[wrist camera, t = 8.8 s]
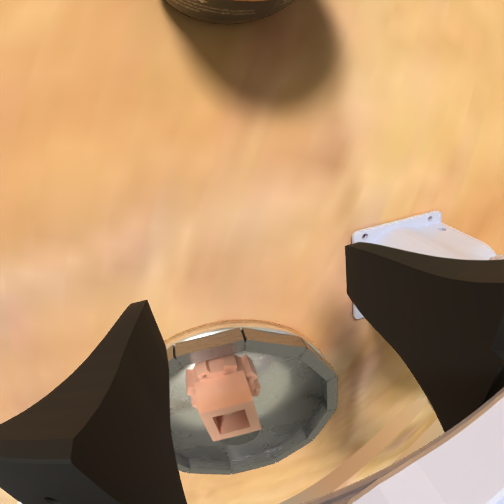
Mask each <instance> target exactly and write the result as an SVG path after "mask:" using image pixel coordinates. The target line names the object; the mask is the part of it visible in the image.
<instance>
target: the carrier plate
mask: <svg viewBox="0 0 504 504" xmlns="http://www.w3.org/2000/svg"><path fill="white" fill-rule="evenodd" d="M164 343H165V345H166V350H167V357H168V364H169V384H170V424H171V434H172V440H173V446H174V451H175V457H176V461H177V466H178V470H180V471H183V472H187V473H197V474H231V473H232V474H236V473H240V472H244V471H248V470H252V469H256V468H260V467H264V466H267V465H271V464H274V463H275V462H279V461H280V460H282V459H284V458H285V457H287V456H289V455H290V454H292V453H294V452H295V451H297V450H299V449H300V448H302V447H303V446H305V445H306V444H308V443H310V442H311V441H313V440H312V439H315V437H316V436H317V435H318V433H319V432H320V431H321V430H322V428H323V427H324V426H325V424H326V423H327V422H328V420H329V419H330V417H331V416H332V415H333V413H334V412H335V411H336V408H337V381H338V376H337V374H336V372H335V371H334V369H333V368H332V366H331V365H330V364H329V363H328V362H327V361H326V360H325V358H324V356H323V355H322V353H321V352H320V350H319V349H318V348H317V347H316V345H315V344H314V343H313V342H312V341H311V340H309V339H308V338H307V337H306V336H304V335H303V334H301V333H299V332H297V331H296V330H294V329H291V328H289V327H286V326H283V325H280V324H276V323H271V322H266V321H258V320H231V321H221V322H216V323H211V324H205V325H202V326H199V327H195V328H192V329H189V330H186V331H184V332H182V333H179V334H177V335H175V336H173V337H171V338H169V339H167V340H166V341H164ZM230 354H234V355H237V356H239V357H242V356H244V355H245V354H246V355H247V356H248V357H249V358H250V359H251V360H252V362H253V364H254V367H255V370H256V373H257V375H258V378H257V379H258V382H259V385H260V387H261V390H260V393H259V396H253V397H252V398H253V401H254V404H255V408H256V412H257V415H258V419H259V422H260V426H261V430H257V431H254V432H250V433H246V434H243V435H239V436H235V437H231V438H226V439H222V440H218V441H213V440H212V438H211V436H210V435H209V433H208V431H207V429H206V427H205V425H204V423H203V421H202V419H201V417H200V415H199V411H198V410H197V409H196V408H194V407H193V406H192V402H191V396H188V395H187V391H186V381H185V374H186V369H191V370H192V369H193V367H194V366H195V363H198V362H202V361H207V360H211V359H215V358H219V357H223V356H227V355H230ZM233 413H234V412H232V413H228V414H225V415H230V414H233Z"/></svg>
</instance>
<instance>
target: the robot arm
mask: <svg viewBox="0 0 504 504" xmlns="http://www.w3.org/2000/svg"><path fill="white" fill-rule="evenodd" d="M428 218H429V220H428ZM363 234H365V237H364V238H362V236H363ZM345 255H346V279H347V294H348V296H349V297H350V299H351V300H352V302H353V316H354V317H355V319H361V318H363V317H365V318H366V320H367V321H368V322H369V323H370V324H371V325H372V326H373V327H374V328H375V329H376V330H377V331H378V332H379V333H380V334H381V336H382V337H383V338H384V339H385V340H386V341H387V342H388V343H389V344H390V345H391V346H392V347H393V348H394V350H395V351H396V352H397V353H398V354H399V356H400V357H401V358H402V360H403V361H404V362H405V364H406V365H407V367H408V368H409V369H410V371H411V372H412V374H413V375H414V377H415V378H416V380H417V382H418V383H419V385H420V386H421V388H422V390H423V391H424V393H425V395H426V396H427V399H428V401H429V403H430V405H431V407H432V408H433V410H434V411H435V413H436V415H437V417H438V419H439V421H440V423H441V425H442V427H443V430H444V432H445V433H444V434H442V435H441V436H439V437H438V438H436V439H435V440H433V441H432V442H430V443H428V444H427V445H425V446H424V447H422V448H420V449H419V450H417V451H415V452H414V453H412V454H410V455H408V456H407V457H405V458H403V459H401V460H400V461H398V462H396V463H394V464H392V465H390V466H388V467H387V468H385V469H383V470H381V471H379V472H377V473H375V474H373V475H371V476H368V477H366V478H364V479H362V480H360V481H358V482H356V483H353V484H351V485H349V486H346V487H344V488H342V489H339V490H337V491H334V492H332V493H329V494H327V495H324V496H322V497H319V498H316V499H313V500H311V501H308V502H305V503H302V504H504V255H502V254H499V255H496V254H495V252H494V251H493V250H492V249H491V248H490V247H489V246H488V245H487V244H485V243H484V242H482V241H480V240H478V239H476V238H474V237H471V236H469V235H467V234H465V233H463V232H461V231H459V230H457V229H455V228H452V227H450V226H448V225H446V224H444V223H441V213H440V212H439V211H436V210H435V211H432V212H428V213H424V214H420V215H416V216H412V217H408V218H404V219H401V220H397V221H393V222H389V223H385V224H381V225H377V226H373V227H370V228H366V229H362V230H358V231H355V232H354V233H353V235H352V244H350V245H347V246H345ZM0 488H2V489H3V490H4V491H6V492H7V493H8V494H10V495H11V496H12V497H14V498H15V499H16V500H18V501H19V502H21V503H22V504H187V502H186V498H185V495H184V491H183V487H182V483H181V479H180V475H179V471H178V466H177V461H176V457H175V451H174V446H173V440H172V434H171V424H170V384H169V364H168V357H167V350H166V345H165V343H164V340H163V338H162V336H161V333H160V331H159V328H158V326H157V323H156V321H155V319H154V316H153V314H152V311H151V308H150V306H149V303H148V301H147V300H144V301H140V302H136V303H132V304H130V305H129V306H128V307H127V309H126V310H125V311H124V312H123V314H122V315H121V316H120V318H119V319H118V320H117V322H116V323H115V324H114V326H113V327H112V328H111V330H110V331H109V332H108V334H107V335H106V336H105V337H104V339H103V340H102V341H101V342H100V344H99V345H98V346H97V347H96V348H95V350H94V351H93V352H92V353H91V354H90V356H89V357H88V358H87V359H86V360H85V361H84V362H83V363H82V364H81V365H80V366H79V367H78V368H77V369H76V370H75V371H74V372H73V373H72V374H71V375H70V376H69V377H68V378H67V379H66V380H65V381H63V382H62V383H61V384H60V385H59V386H58V387H56V388H55V389H54V390H53V391H52V392H50V393H49V394H48V395H47V396H45V397H44V398H43V399H41V400H40V401H39V402H37V403H36V404H34V405H33V406H31V407H30V408H28V409H27V410H25V411H24V412H22V413H20V414H19V415H17V416H15V417H13V418H11V419H10V420H8V421H6V422H4V423H2V424H0Z"/></svg>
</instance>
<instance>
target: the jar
mask: <svg viewBox="0 0 504 504" xmlns="http://www.w3.org/2000/svg"><path fill="white" fill-rule="evenodd" d="M166 1H167V2H168V3H169V4H170V5H171V6H172V7H174V8H175V9H176V10H178V11H180V12H181V13H183V14H185V15H187V16H190V17H192V18H195V19H198V20H201V21H205V22H211V23H219V24H236V23H244V22H249V21H254V20H257V19H260V18H264V17H266V16H269V15H271V14H274V13H276V12H278V11H280V10H281V9H283V8H285V7H286V6H287V5H289V4H290V3H291V2H292V1H294V0H166Z"/></svg>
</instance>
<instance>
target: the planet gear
mask: <svg viewBox="0 0 504 504" xmlns="http://www.w3.org/2000/svg"><path fill="white" fill-rule="evenodd" d="M257 378H258V375H257V373H256V370H255V367H254V364H253V362H252V360H251V359H250V358H249V357H248V356H247V355H246V354H245V355H244V356H242V357H239V356H237V355H234V354H230V355H227V356H223V357H219V358H215V359H211V360H207V361H202V362H198V363H195V366H194V367H193V369H192V370H191V369H186V374H185V381H186V391H187V395H188V396H191V402H192V406H193V407H194V408H196V409H197V410H198V411H199V415H200V417H201V419H202V421H203V423H204V425H205V427H206V429H207V431H208V433H209V435H210V436H211V438H212V440H213V441H218V440H222V439H226V438H231V437H235V436H239V435H243V434H246V433H250V432H254V431H257V430H261V426H260V422H259V419H258V415H257V412H256V408H255V404H254V401H253V398H252V397H253V396H259V393H260V390H261V387H260V385H259V382H258V379H257ZM232 412H234V413H233V414H230V415H225V414H228V413H232Z"/></svg>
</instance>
